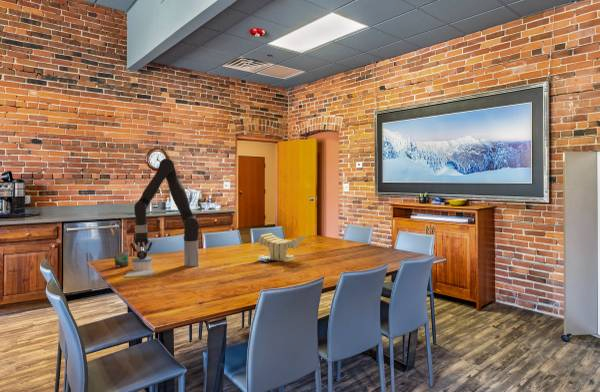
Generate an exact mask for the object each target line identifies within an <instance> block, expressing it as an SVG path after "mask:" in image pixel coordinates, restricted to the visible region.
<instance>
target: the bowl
mask: <svg viewBox="0 0 600 392" xmlns="http://www.w3.org/2000/svg"><path fill="white" fill-rule="evenodd" d="M147 270H152V260H151V261H147V262H132V271H147Z"/></svg>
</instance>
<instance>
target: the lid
mask: <svg viewBox="0 0 600 392" xmlns="http://www.w3.org/2000/svg"><path fill="white" fill-rule="evenodd" d="M152 260H153V257H152V256H147V257H146V258H144V250H139V258H138V257H137V256H136V257H133V258H131V262H132V263H133V262H147V261H151V262H152Z"/></svg>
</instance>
